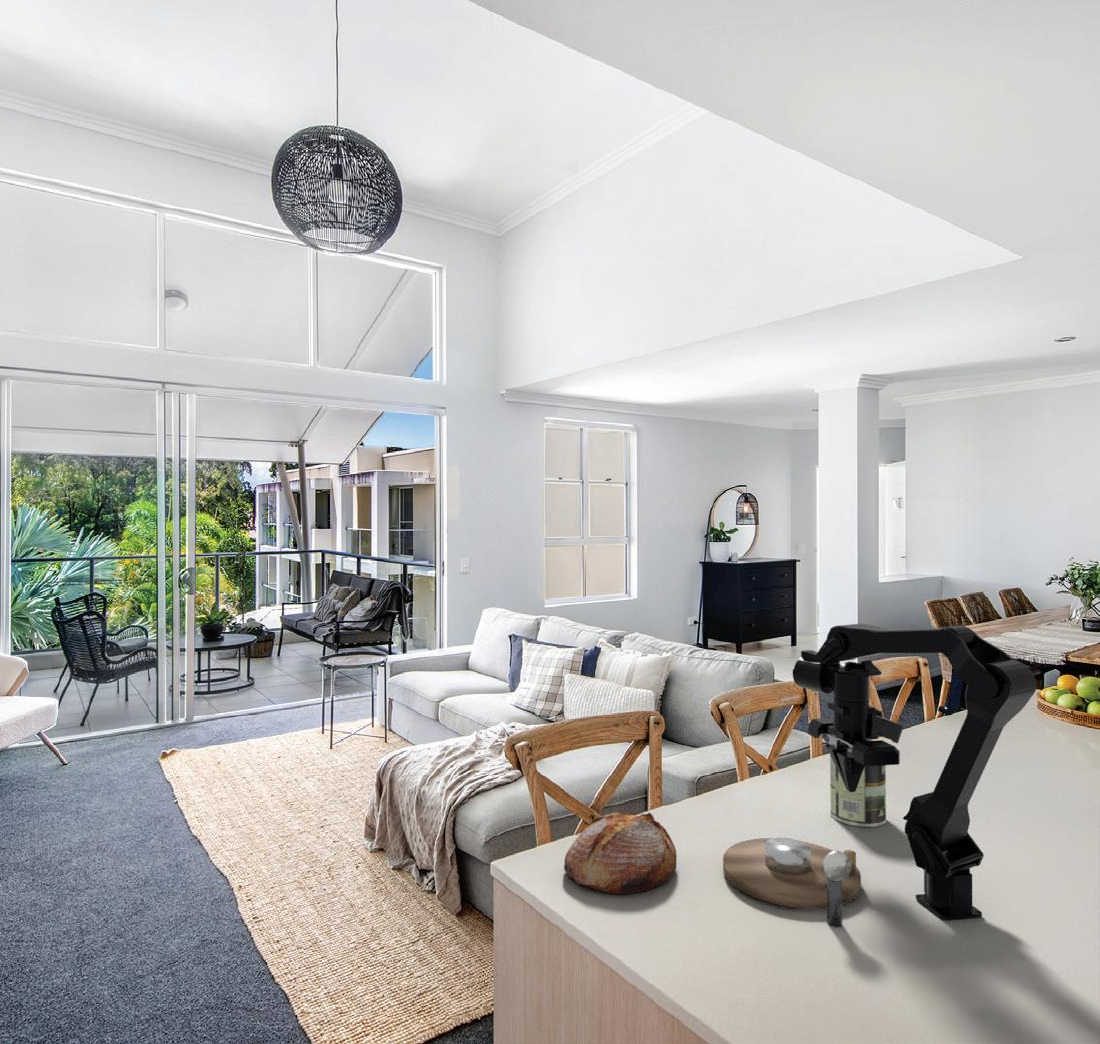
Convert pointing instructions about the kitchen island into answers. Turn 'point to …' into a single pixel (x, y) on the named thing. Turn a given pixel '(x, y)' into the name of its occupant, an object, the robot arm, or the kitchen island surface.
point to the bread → (622, 854)
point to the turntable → (785, 876)
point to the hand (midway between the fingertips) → (851, 791)
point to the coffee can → (859, 797)
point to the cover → (788, 856)
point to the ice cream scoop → (835, 884)
